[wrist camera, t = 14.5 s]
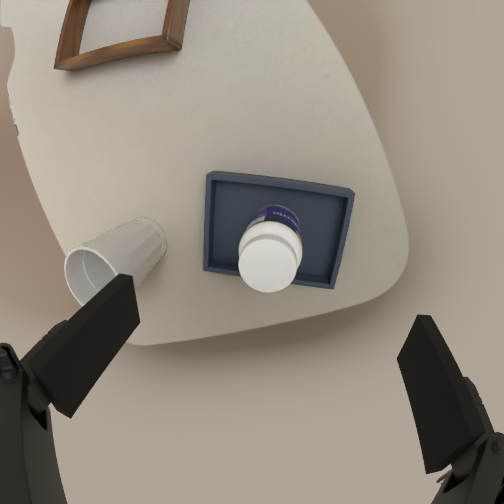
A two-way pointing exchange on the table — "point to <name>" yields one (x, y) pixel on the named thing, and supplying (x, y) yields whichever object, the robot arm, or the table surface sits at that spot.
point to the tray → (285, 194)
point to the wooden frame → (165, 42)
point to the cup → (114, 257)
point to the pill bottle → (270, 249)
